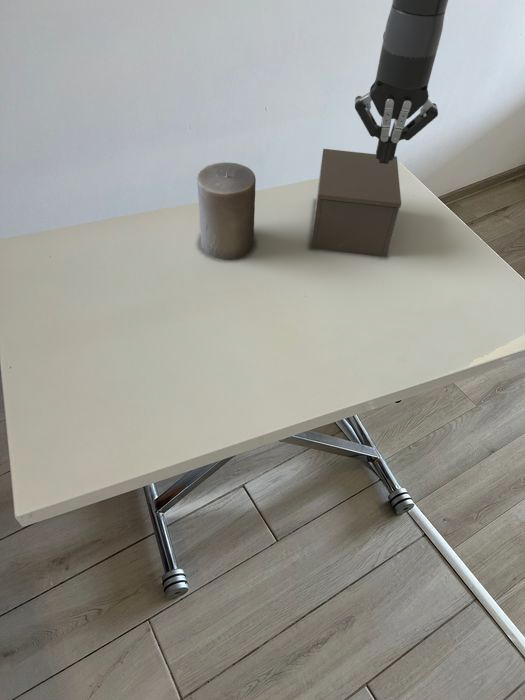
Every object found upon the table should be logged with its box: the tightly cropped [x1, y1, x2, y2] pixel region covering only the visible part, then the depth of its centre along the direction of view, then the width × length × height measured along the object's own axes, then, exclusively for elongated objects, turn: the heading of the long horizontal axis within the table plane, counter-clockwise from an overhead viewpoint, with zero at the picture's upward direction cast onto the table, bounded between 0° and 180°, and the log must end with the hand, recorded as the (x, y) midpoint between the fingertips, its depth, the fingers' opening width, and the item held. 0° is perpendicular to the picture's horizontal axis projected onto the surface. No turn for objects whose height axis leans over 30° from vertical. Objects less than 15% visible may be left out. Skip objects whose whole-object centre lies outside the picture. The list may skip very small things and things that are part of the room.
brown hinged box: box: [310, 153, 400, 258], centre depth 97 cm, size 16×14×11 cm
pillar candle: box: [196, 162, 257, 261], centre depth 91 cm, size 10×10×15 cm
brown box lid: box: [317, 148, 402, 209], centre depth 93 cm, size 16×14×1 cm
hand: (383, 161), depth 86 cm, fingers closed
